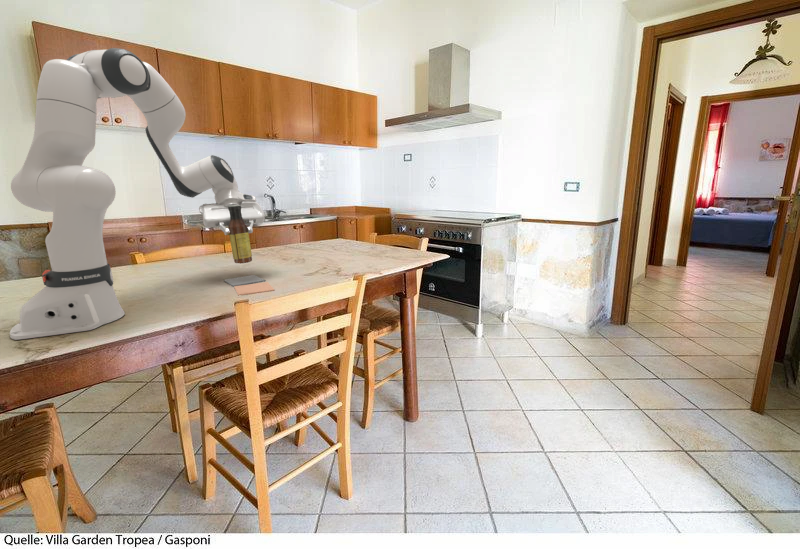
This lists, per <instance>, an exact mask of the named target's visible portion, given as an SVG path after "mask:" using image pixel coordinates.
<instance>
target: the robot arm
mask: <svg viewBox="0 0 800 549" xmlns="http://www.w3.org/2000/svg"><path fill="white" fill-rule="evenodd" d="M38 79H39V80H38V85H37V90H36V102H35V105H36V107H35V121H34V132H33V137H32V141H31V144H30V146H29V149H28V152H27V154H26V158H25V160H24V163H23V165H22V167H21V169H20V170H19V171H18V172H17V173H16V174H15V175H14V176H13V178H12V179H11V182H10V190H11V192H12V194H13V197H14V198H15V199H16V200H17V201H18V202H19V203H20V204H22V205H24V206H26V207H28V208H31V209H34V210H36V211H37V210H38V211H41V212H47V213H49V212H50V213H52V215H53V216H52V225H51V228H50V231H49V233H48V234H47V235H46V236H45V239H44V240H45V246H46V250H47V256H48V259H49V263H50V268H51V269H45V270H44V271H43V272H42V275H41V276H42V282H43V285H44V286H45V287H43V288H42V289H41V290H39V291H38V292H37V293H35V294H34V295H33V296H32V297H31V298H29V300H27V301H26V302H25V303H24V304H23V305H22V307H21V309H20V314H19V323H17V324H15V325H14V326H12V328H10V331H9V338H10V339H12V340H14V341H17V340H25V339H27V340H28V339H32V338H43V337H48V336H56V335H63V334H70V333H80V332H86V331H93V330H95V329H97V328H99V327H101V326H103V325H106V324H110V323H112V322H115V321H117V320H119V319H121V318H122V317H124V315H125V314H126V313H125V311H124V309H123V307H122V305H121V304H120V302H119V299H118V297H117V294H116V291H115V288H114V286H113V285H114V278H113V271H112V268H111V266H110V264H109V263H108V260H107V256H106V248H105V244H104V238H103V236H104V235H103V233H104V232H103V231H104V230H103V229H104V221H105V217H106V213H107V210H108V209H109V207H110V206H111V205H112V204H113V202H114V201H115V198H116V186H115V183H114V182H113V180H112V178H111V177H110V176H109V175H108V174H107V173H105V172H103V171H102V170H100V169H97V168H93V167H89V166H85V165H83V164H84V162H85V159H86V157H87V156H88V155H89V154H90V153H91V152H92V151H93V150H94V148H95V145H96V133H97V131H96V130H97V129H96V128H97V110H98V108H97V103H98V102H97V101H98V99H101V98H103V99H104V98H105V99H107V98H111V99H116V98H122V97H129V99H131V100H132V101H133V102H134V104H135V106H136V107H137V108H138V110H139V111H140V112H141V113H142V114H143V116H144V118H145V120H146V122H147V125H146V127H145V135H146V137H147V139H148V142H149V144H150V145H151V147H152V149H153V151H154V152H155V154H156V156H157V158H158V159H159V160H160V162H161V164H162V165H163V166H162V167H164V169H165V170H166V172H167V174H168V176H169V177H170V180H171V181H172V184H173V186H174V188H175V189H176V190H177V192H178V193H179V194H180V195H181V196H184V197H186V198H195V197H197V196H199V195H200V194H202V193H203V192H205V191H209V190H210V189H211V191H212V193H213V194H214V200H215V203H213V202H212V203H203V204H201V205H200V206H199V208H198V209H199V213H200V214H201V215H202V222H203V225H204V227H205V228H219V230H220V231H222V232H223V234H224V236H229V235H230V231H229V228H227V227H228V226H229V223H230V220H231V219H230V212H229V210H228V206H233V205H241V214H242V218H243V221H244V223H245V224H246V227H247V229H248V234H253V232H254V229H253V226H254V225H258V224H259V225H260V224H263V223H264V222H265V219H266V218H265V216H266V215H265V212H264V210H263V208H262V206H261V205H260V203H259V202H257V197H256V196H254V195H252V194H246V193H242V192H240V191H239V186H238V183H237V181H236V178H235V175H234V173H233V170H232V168H231V166H230V164H229V163H228V162H227V161H226V160H225V159H224V158H221V157H219V156H217V155H214V154H211V155H209V156H206V157H204V158H202V159H199V160H198V161H195V162H193V163H190V164H188V165H186V166H182V165H180V163H179V161H178V159H177V158H176V156H175V153H173V151H172V150H171V147H170V142H171V140H172V139H173V138H174V137H175V135H176V134H177V133H178V132H179V131H180V130H181V129H182V127H183V125H184V124H185V121H186V115H187V113H186V109H185V107H184V105H183V102H182V101H181V99H180V98H179V97H178V95H177V94H176V92H175V91H174V89H173V88H172V87H171V85H170V84H169V83H168V82H167V81H166V80H165V79H164V77H163V76H162V75H161V74H160V73H159V72H158V70H156V68H154V67H153V66H152V65H151V64H149V63H148V62H146V61H142V60H141V59H140V57H138V56H137V55H136V54H134V52H132V51H129V50H128V49H124V48H118V47H113V48H112V47H111V48H108V49H92V50H88V51H84V52H82V53H75V54H73V55H71V56H69V57H68V58H66V59H63V58H62V59H60V58H55V59H49V60H48V61H46V62H45V63H44V64H43V65H42V69H41V72H40V75H39V78H38ZM247 225H248V226H247Z"/></svg>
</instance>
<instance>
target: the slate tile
mask: <svg viewBox="0 0 800 549" xmlns="http://www.w3.org/2000/svg"><path fill="white" fill-rule="evenodd" d="M223 282H225V283H226V284H228V285H229V284H230V285H229V286H231V287H233V288H234V286H240V285H248V284H256V283H264V282H266V279H264V278H263V277H262V278H261V277H260V276H258V275H255V274H251V275H246V276H238V277H234V278H233V277H232V278H227V279H223Z"/></svg>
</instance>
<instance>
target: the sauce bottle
mask: <svg viewBox="0 0 800 549" xmlns="http://www.w3.org/2000/svg"><path fill="white" fill-rule="evenodd" d="M228 210H229V212H230V219H231V220H230V223H229V226H227V227H228V228H229V231H230V235H228V236H229V241H230V247H231V254H232V258H233V261H234V263H235V264H247V263H251V262H252V261H253V258H252V256H253V254H252V248H251V242H250V235H249V234H250V233H248V229H247V227H248V226H247V225H246V224H245V223H244V221H243V218H242V214H241V205H233V206H228Z"/></svg>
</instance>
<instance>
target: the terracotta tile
mask: <svg viewBox="0 0 800 549" xmlns="http://www.w3.org/2000/svg"><path fill="white" fill-rule="evenodd" d="M233 288H234V290H235V291H236V294H237V296H238V297H240V296H239V295H241V296H247V295H255V294H261V293H262V294H263V293H269V292H274V291H275V289H274V286H272V284H270V282H268V281H265V282H259V283H253V284H248V285H240V286H234V287H233Z"/></svg>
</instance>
